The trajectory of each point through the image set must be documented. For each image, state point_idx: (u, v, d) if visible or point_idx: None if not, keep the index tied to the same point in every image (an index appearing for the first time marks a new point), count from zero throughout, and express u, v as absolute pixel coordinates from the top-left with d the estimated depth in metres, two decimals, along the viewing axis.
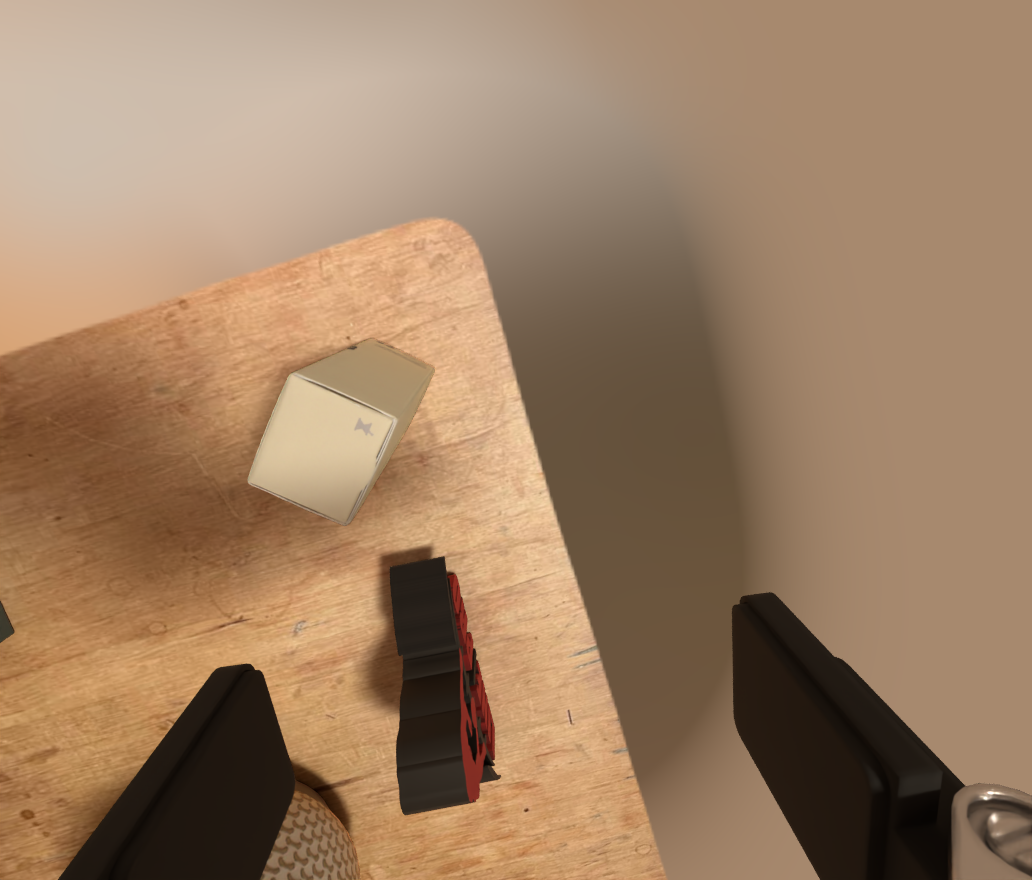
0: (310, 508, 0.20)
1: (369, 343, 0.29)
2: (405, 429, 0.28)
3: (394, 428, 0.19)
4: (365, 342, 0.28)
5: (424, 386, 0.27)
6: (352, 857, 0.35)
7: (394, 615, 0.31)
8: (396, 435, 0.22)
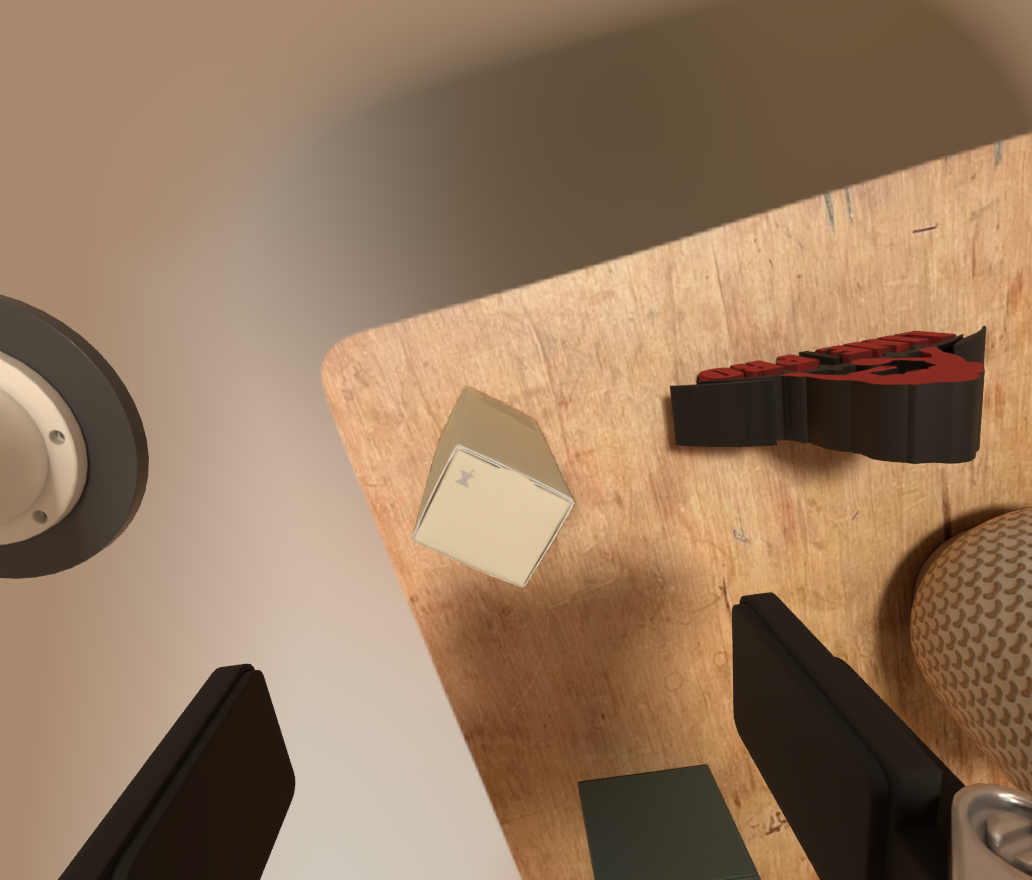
0: (553, 533, 0.20)
1: (436, 449, 0.29)
2: (514, 423, 0.27)
3: (467, 448, 0.19)
4: None
5: (470, 401, 0.26)
6: None
7: (728, 445, 0.28)
8: (490, 441, 0.21)
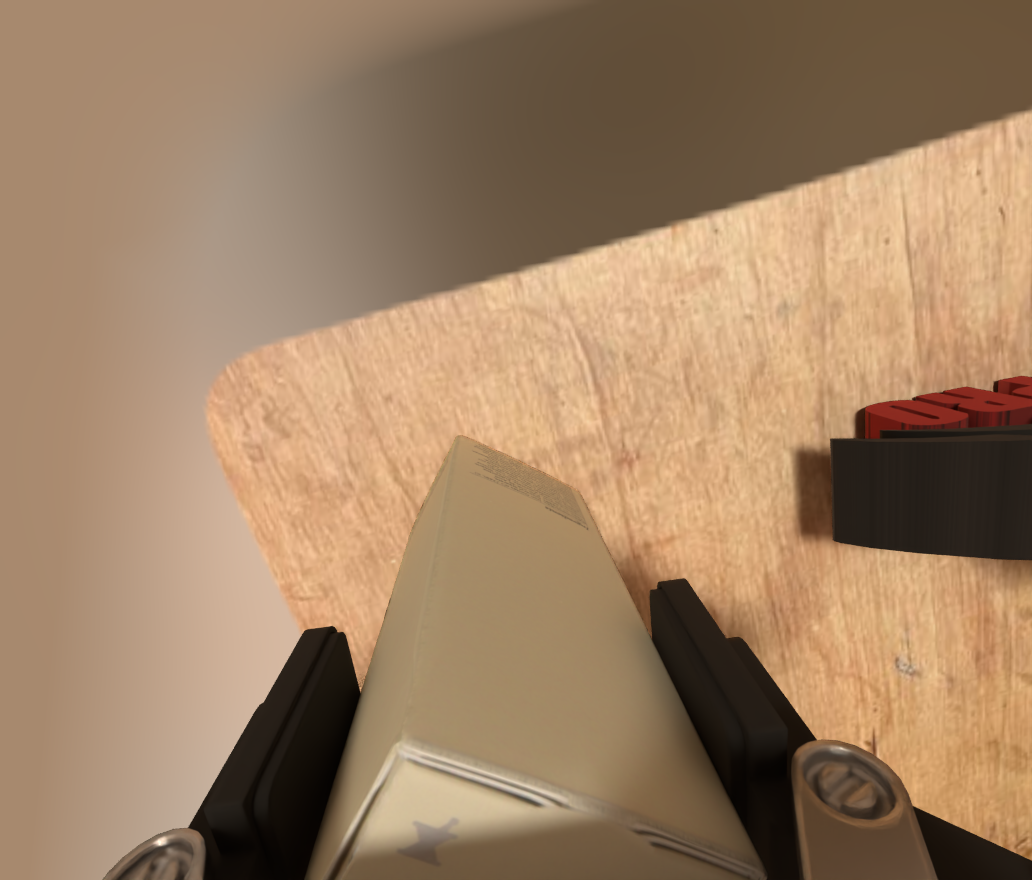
0: None
1: (404, 554, 0.16)
2: (549, 522, 0.14)
3: (435, 748, 0.06)
4: None
5: (463, 481, 0.13)
6: None
7: (952, 553, 0.15)
8: (508, 647, 0.08)
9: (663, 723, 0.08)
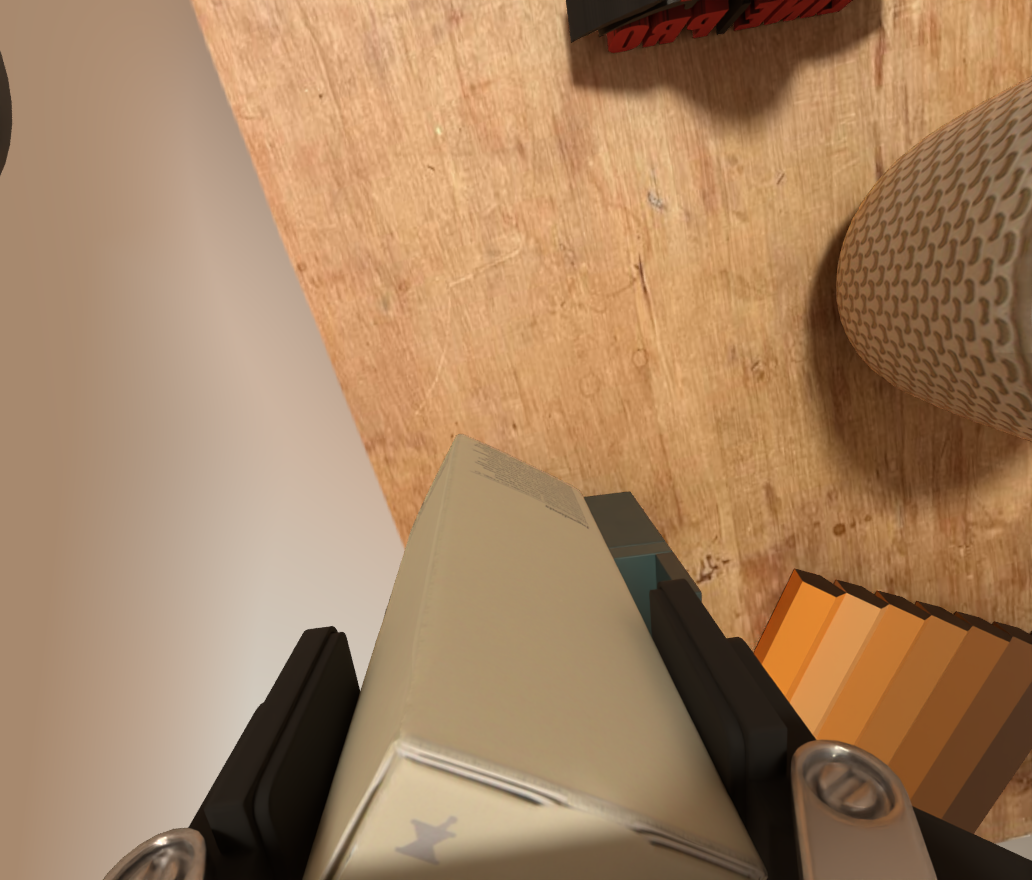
0: None
1: (404, 552, 0.16)
2: (550, 520, 0.14)
3: (434, 746, 0.06)
4: None
5: (463, 479, 0.13)
6: None
7: (621, 13, 0.25)
8: (507, 645, 0.08)
9: (663, 722, 0.08)
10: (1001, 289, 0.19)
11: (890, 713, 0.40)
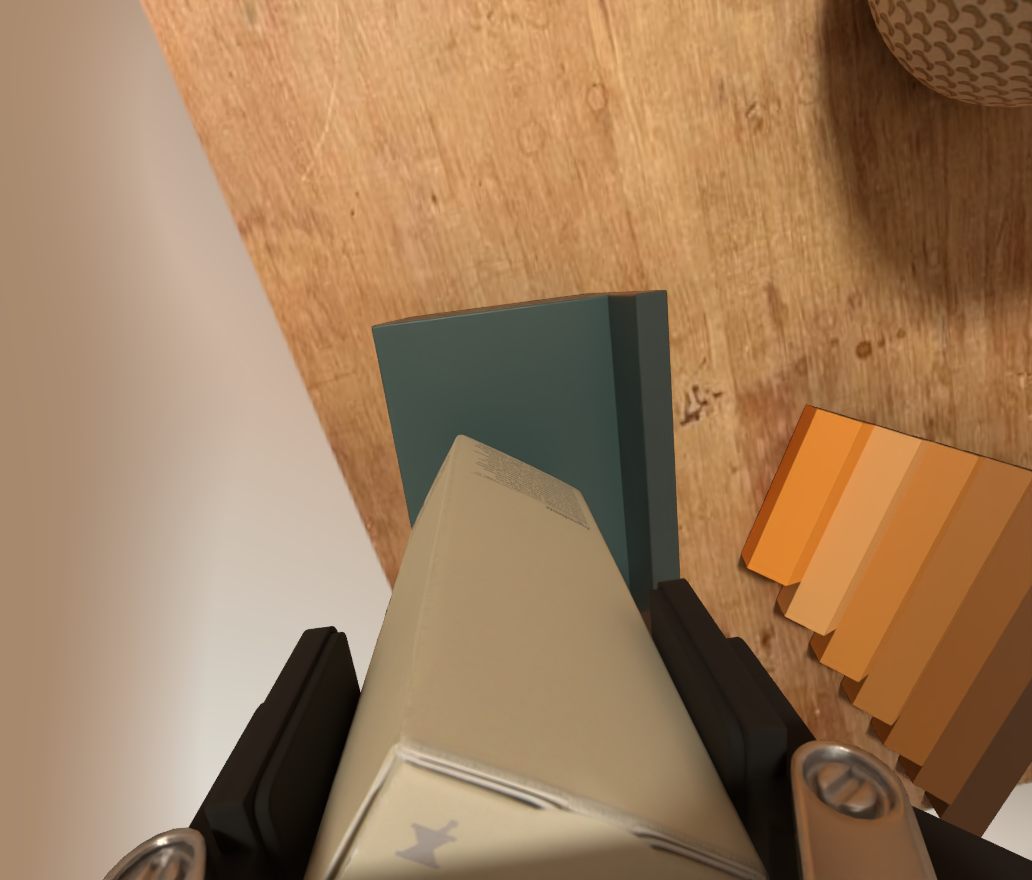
0: None
1: (405, 553, 0.16)
2: (550, 522, 0.13)
3: (434, 750, 0.06)
4: (402, 561, 0.16)
5: (463, 480, 0.13)
6: None
7: None
8: (508, 648, 0.08)
9: (664, 725, 0.08)
10: None
11: (932, 592, 0.31)
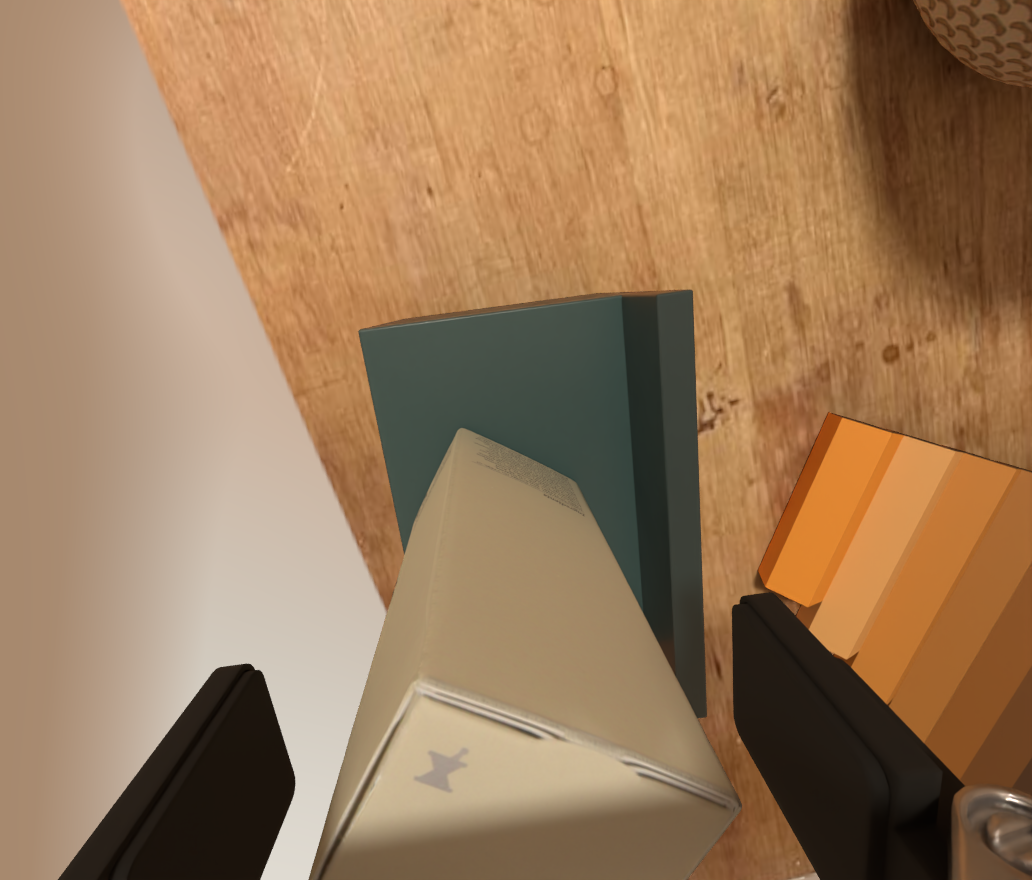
0: (680, 878, 0.07)
1: (409, 541, 0.17)
2: (548, 507, 0.14)
3: (448, 687, 0.06)
4: (406, 548, 0.17)
5: (466, 468, 0.14)
6: None
7: None
8: (510, 610, 0.09)
9: (651, 680, 0.09)
10: None
11: (962, 612, 0.29)
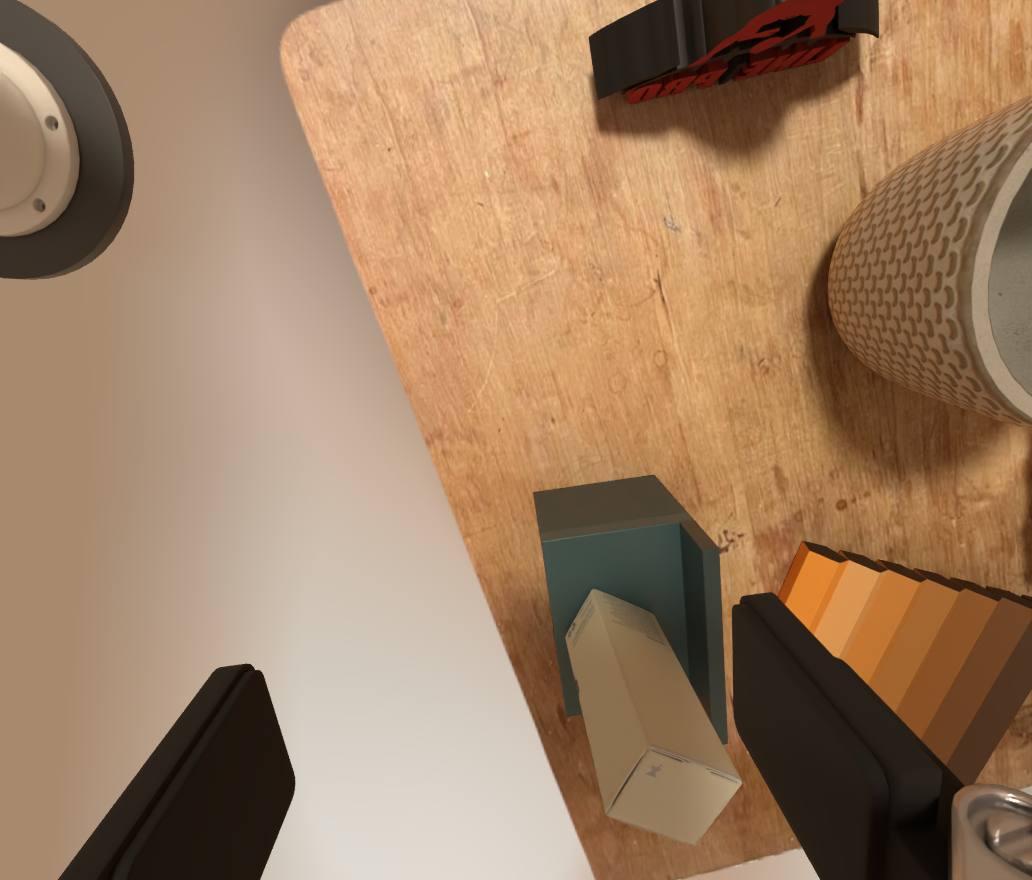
0: (723, 805, 0.23)
1: (571, 653, 0.33)
2: (651, 646, 0.30)
3: (656, 747, 0.22)
4: (570, 657, 0.33)
5: (612, 629, 0.30)
6: None
7: (639, 78, 0.31)
8: (660, 715, 0.24)
9: (710, 739, 0.24)
10: (949, 296, 0.24)
11: (893, 669, 0.44)
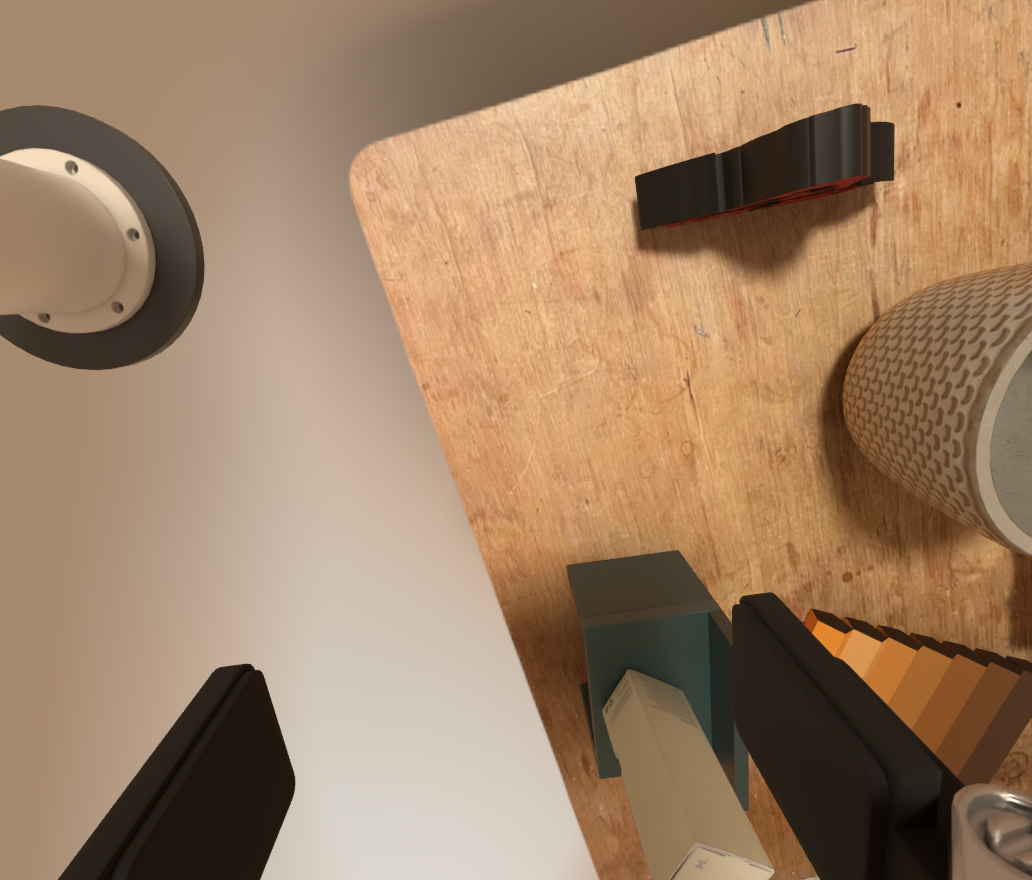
0: None
1: (610, 729, 0.37)
2: (685, 730, 0.34)
3: (703, 844, 0.26)
4: (609, 733, 0.36)
5: (651, 715, 0.34)
6: None
7: (681, 218, 0.34)
8: (702, 808, 0.28)
9: (745, 828, 0.28)
10: (956, 448, 0.28)
11: None
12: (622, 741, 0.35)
